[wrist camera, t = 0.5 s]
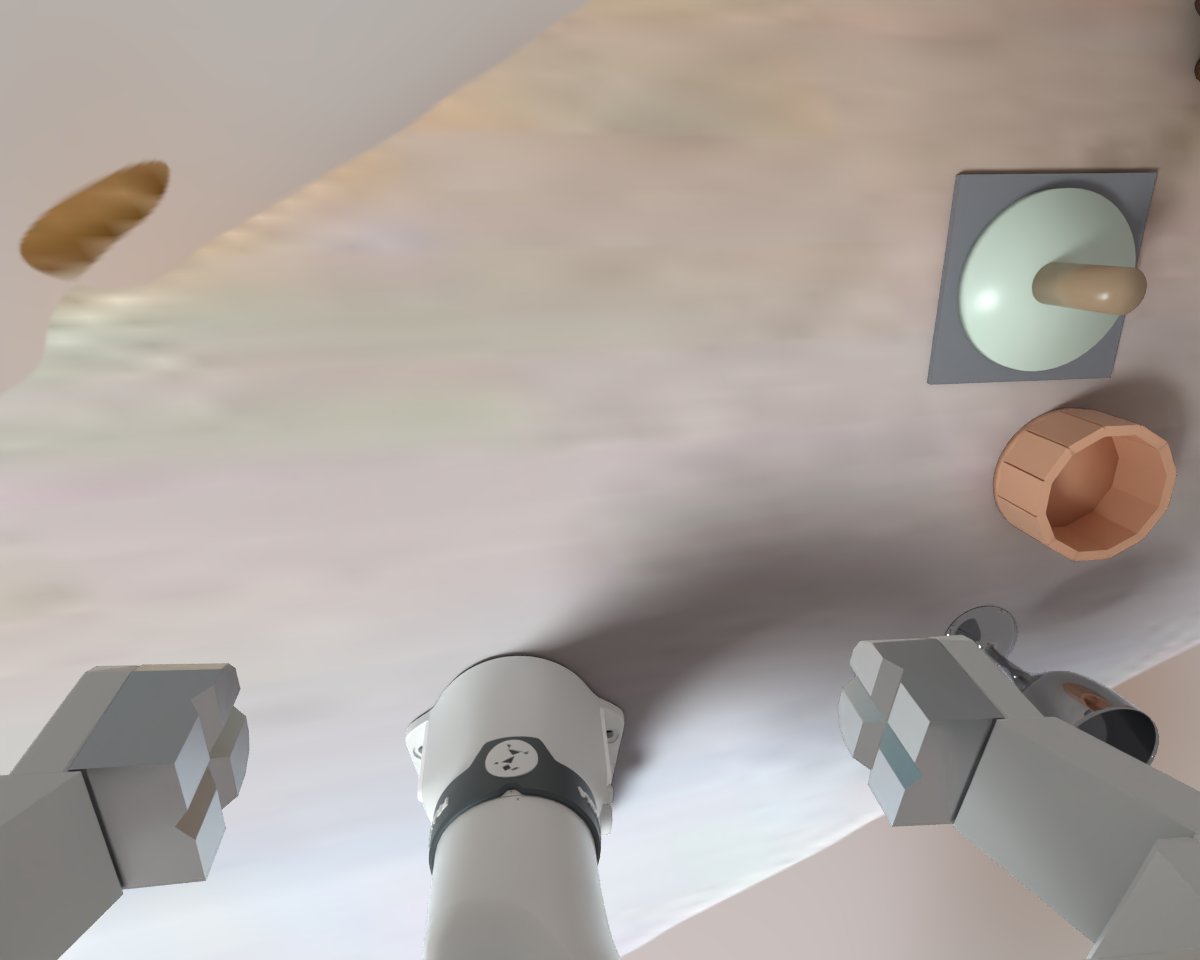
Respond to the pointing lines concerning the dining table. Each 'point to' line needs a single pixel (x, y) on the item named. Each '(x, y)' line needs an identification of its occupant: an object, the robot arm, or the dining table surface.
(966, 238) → the mat
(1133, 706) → the wine glass
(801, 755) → the dining table surface
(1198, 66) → the decorative turtle
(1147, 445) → the bowl
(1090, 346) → the lid
